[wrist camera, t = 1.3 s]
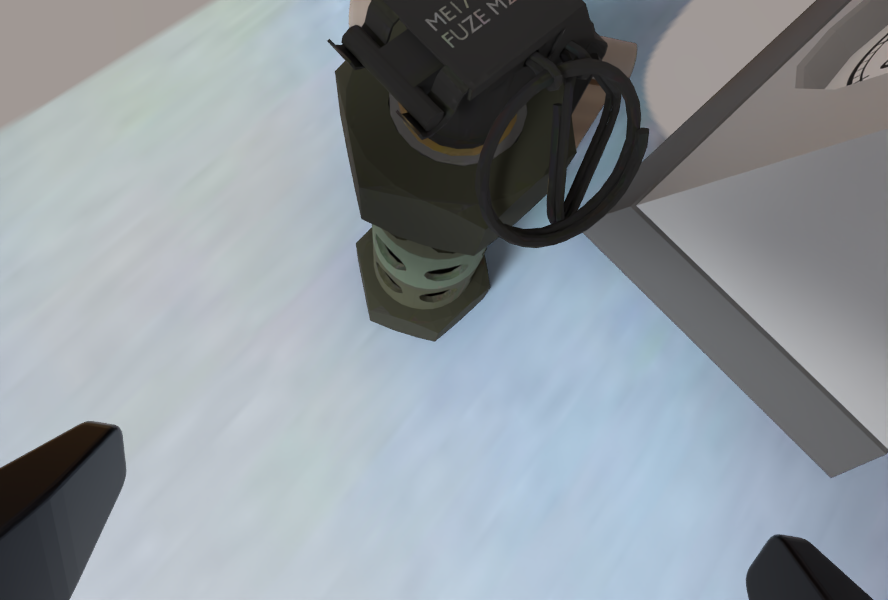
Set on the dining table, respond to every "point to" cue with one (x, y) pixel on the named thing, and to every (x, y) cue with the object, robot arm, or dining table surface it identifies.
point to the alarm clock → (781, 231)
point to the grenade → (470, 143)
